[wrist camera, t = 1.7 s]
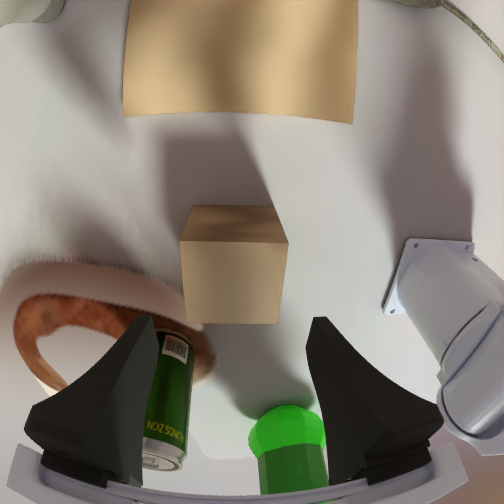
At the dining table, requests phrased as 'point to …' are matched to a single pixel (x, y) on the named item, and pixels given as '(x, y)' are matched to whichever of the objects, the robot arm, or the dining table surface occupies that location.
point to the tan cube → (233, 264)
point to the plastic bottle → (289, 450)
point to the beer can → (169, 403)
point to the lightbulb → (29, 11)
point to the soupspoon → (436, 0)
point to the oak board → (242, 57)
